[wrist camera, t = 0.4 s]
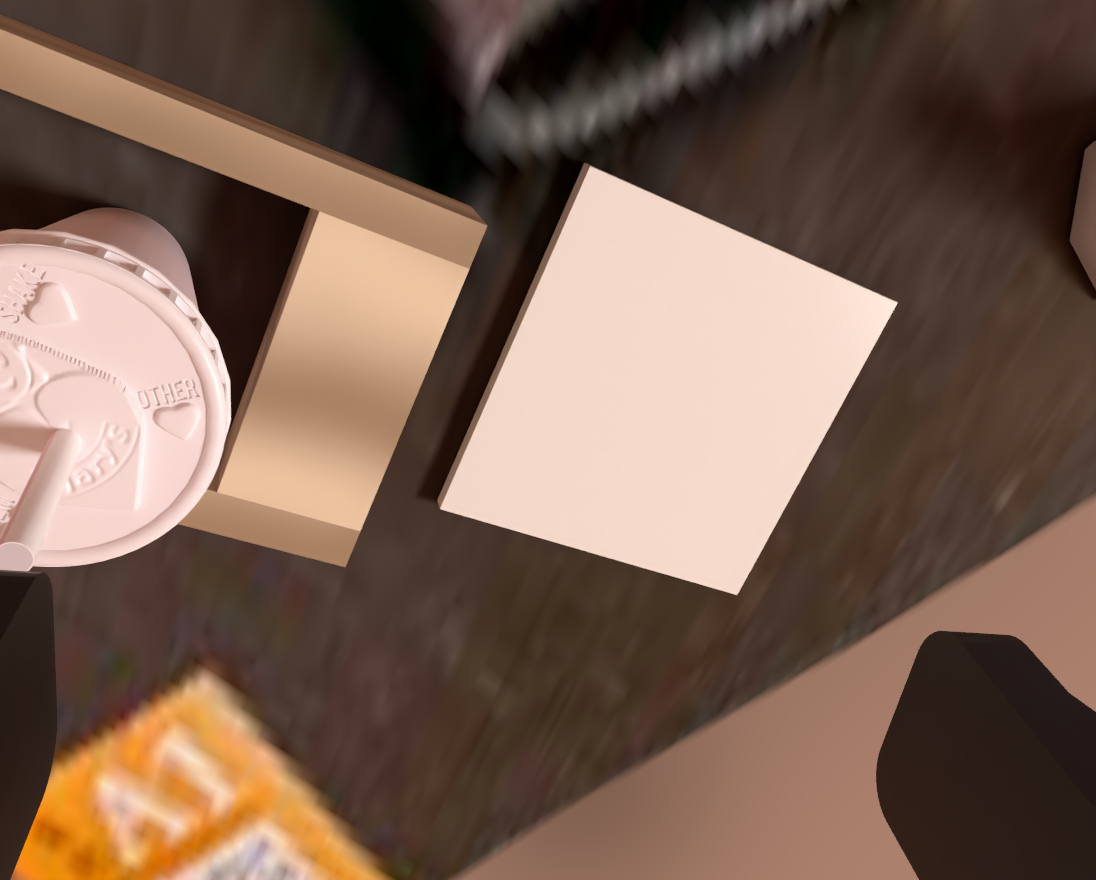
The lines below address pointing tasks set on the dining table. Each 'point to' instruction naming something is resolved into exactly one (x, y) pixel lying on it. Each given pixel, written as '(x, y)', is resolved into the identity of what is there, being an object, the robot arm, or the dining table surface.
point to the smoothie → (102, 390)
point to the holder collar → (292, 297)
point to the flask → (1086, 215)
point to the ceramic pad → (661, 387)
